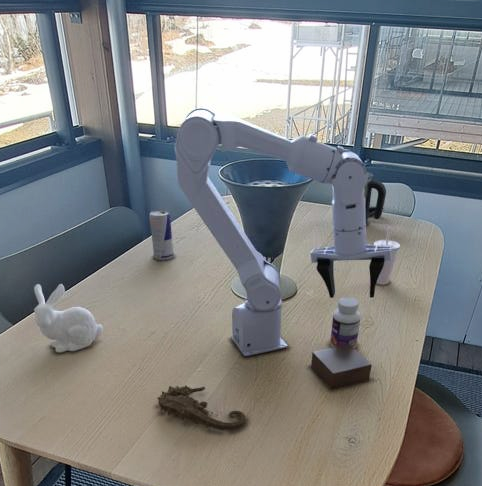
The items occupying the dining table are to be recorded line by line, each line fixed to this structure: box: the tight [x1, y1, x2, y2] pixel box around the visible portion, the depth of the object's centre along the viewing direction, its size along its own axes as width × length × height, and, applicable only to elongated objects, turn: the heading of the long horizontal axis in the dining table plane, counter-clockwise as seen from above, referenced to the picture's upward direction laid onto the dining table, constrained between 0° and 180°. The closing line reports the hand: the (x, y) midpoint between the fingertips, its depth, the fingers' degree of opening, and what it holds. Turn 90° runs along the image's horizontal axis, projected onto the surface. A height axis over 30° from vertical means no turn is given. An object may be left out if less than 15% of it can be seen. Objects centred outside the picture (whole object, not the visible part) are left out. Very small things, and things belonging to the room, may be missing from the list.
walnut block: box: [310, 344, 372, 390], centre depth 98 cm, size 8×8×4 cm
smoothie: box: [373, 226, 401, 286], centre depth 129 cm, size 6×6×14 cm
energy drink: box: [149, 209, 174, 261], centre depth 142 cm, size 5×5×12 cm
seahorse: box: [156, 384, 247, 431], centre depth 89 cm, size 9×16×3 cm, turn 47°
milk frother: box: [364, 171, 387, 225], centre depth 168 cm, size 14×16×15 cm
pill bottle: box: [329, 297, 361, 349], centre depth 105 cm, size 5×5×10 cm
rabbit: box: [33, 283, 104, 354], centre depth 105 cm, size 12×9×12 cm
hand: (352, 295), depth 102 cm, fingers open, 7 cm apart
